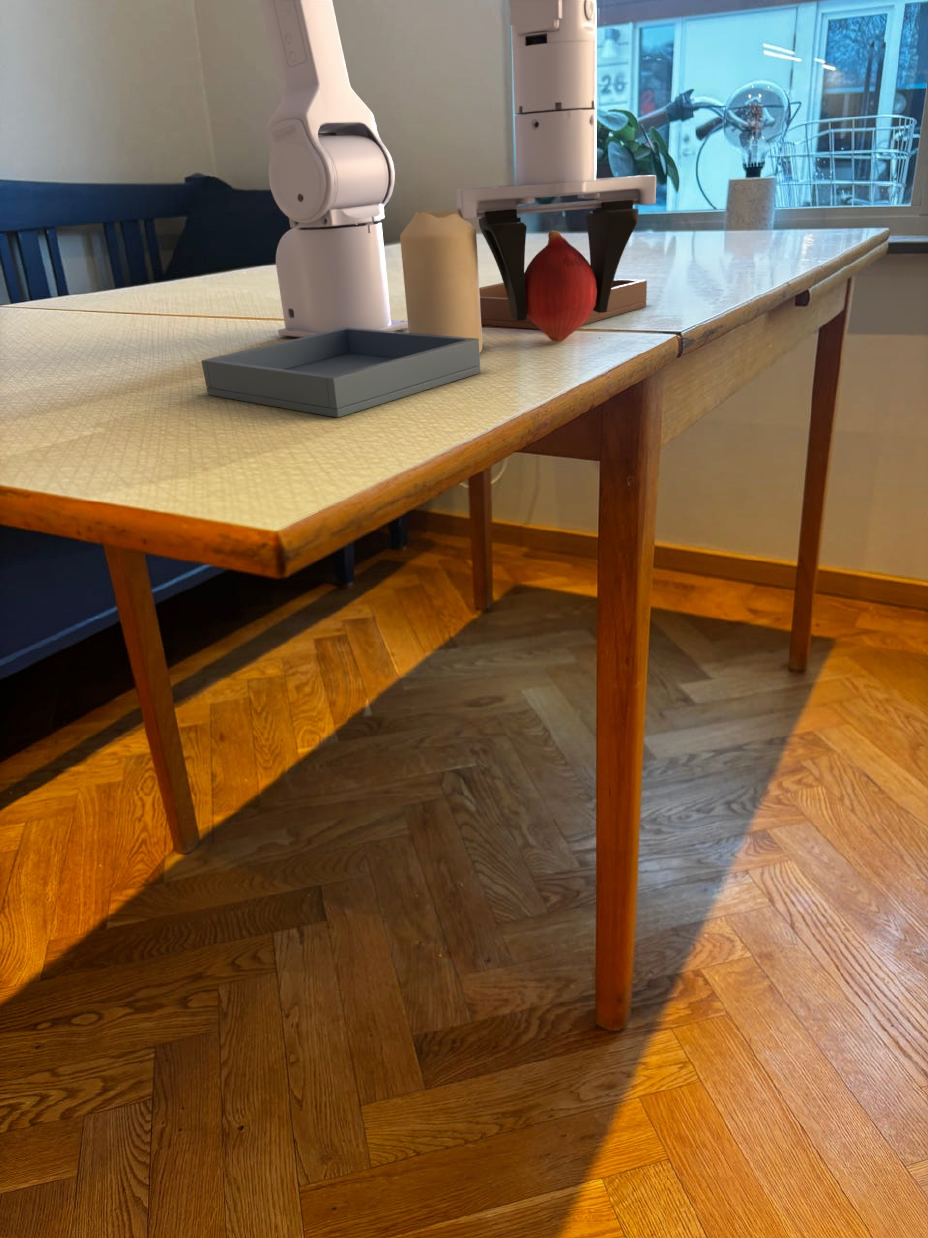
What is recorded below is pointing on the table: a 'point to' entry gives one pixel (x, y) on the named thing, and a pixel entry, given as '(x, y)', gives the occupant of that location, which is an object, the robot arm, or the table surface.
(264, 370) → the gray tray
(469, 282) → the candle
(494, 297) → the walnut tray
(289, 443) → the table surface
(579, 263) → the onion
